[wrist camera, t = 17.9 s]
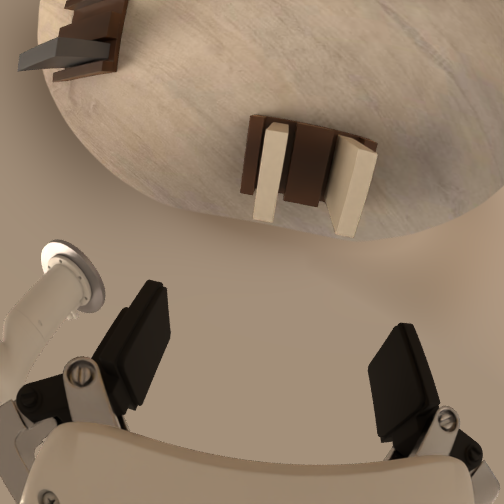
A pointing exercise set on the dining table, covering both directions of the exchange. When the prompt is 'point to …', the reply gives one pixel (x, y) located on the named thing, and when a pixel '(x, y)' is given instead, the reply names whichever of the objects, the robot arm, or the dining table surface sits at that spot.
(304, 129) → the rack
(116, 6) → the rack
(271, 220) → the white book
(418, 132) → the dining table surface
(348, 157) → the white book
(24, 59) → the grey book
